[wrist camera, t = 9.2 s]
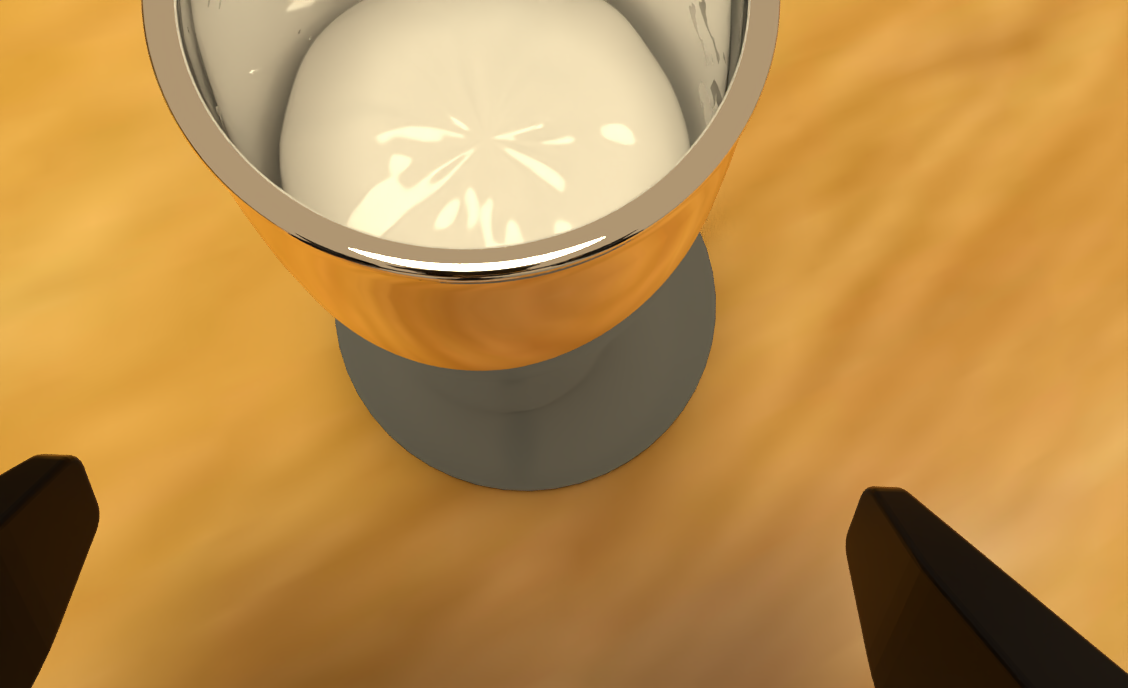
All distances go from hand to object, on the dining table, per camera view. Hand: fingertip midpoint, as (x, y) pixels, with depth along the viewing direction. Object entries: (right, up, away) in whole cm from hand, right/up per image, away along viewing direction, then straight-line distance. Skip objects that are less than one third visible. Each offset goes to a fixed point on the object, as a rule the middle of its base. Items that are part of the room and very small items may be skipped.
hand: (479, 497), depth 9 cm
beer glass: (-1, +3, +14) cm, 14 cm away
